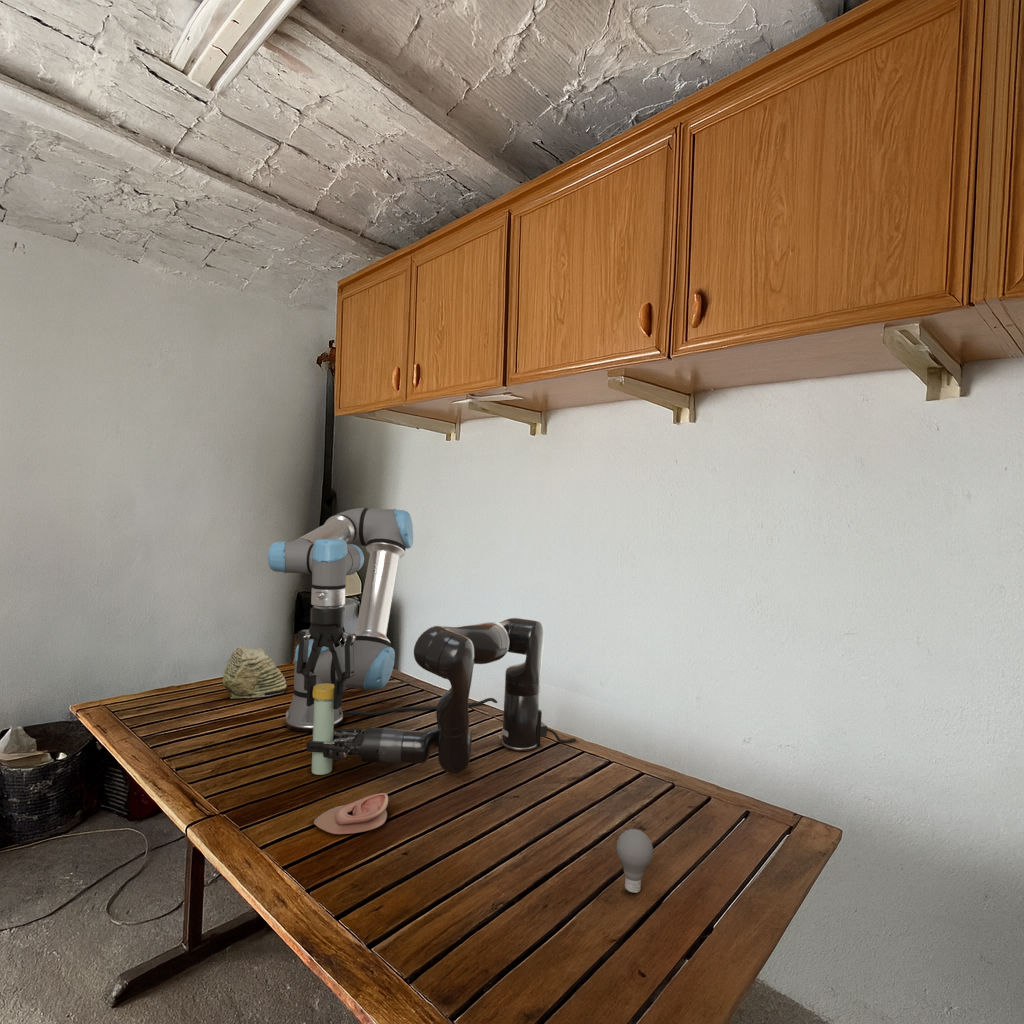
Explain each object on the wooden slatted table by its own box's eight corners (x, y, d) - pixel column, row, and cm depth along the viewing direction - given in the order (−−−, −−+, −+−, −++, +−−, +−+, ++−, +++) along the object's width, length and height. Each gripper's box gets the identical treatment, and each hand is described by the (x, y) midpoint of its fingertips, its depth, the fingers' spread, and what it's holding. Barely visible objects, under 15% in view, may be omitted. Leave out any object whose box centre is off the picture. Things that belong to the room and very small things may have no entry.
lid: (328, 701, 143) (328, 691, 143) (307, 698, 144) (308, 688, 144) (340, 694, 148) (341, 684, 148) (320, 691, 149) (321, 682, 149)
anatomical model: (306, 809, 120) (334, 783, 131) (305, 829, 120) (334, 802, 131) (371, 819, 117) (395, 791, 129) (370, 840, 117) (394, 811, 129)
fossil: (218, 695, 195) (220, 647, 195) (278, 685, 208) (279, 640, 207) (228, 703, 189) (230, 653, 188) (289, 692, 201) (290, 645, 201)
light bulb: (610, 879, 108) (613, 822, 108) (644, 879, 109) (647, 822, 109) (619, 902, 102) (622, 840, 102) (655, 901, 103) (658, 840, 103)
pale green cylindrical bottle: (310, 767, 148) (313, 688, 147) (330, 765, 149) (333, 687, 149) (312, 775, 143) (315, 694, 143) (332, 773, 145) (336, 692, 145)
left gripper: (281, 605, 144) (277, 706, 144) (359, 612, 140) (355, 715, 141) (298, 600, 151) (295, 696, 152) (373, 606, 147) (369, 705, 148)
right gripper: (391, 718, 153) (321, 715, 153) (378, 741, 139) (300, 737, 139) (390, 749, 153) (320, 745, 153) (376, 774, 139) (299, 771, 139)
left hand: (324, 705), depth 146 cm, fingers open, 6 cm apart
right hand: (311, 741), depth 146 cm, fingers closed on pale green cylindrical bottle, 4 cm apart
